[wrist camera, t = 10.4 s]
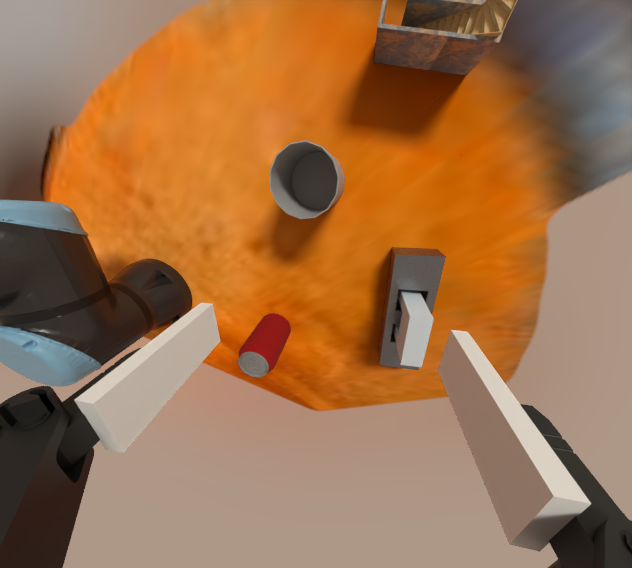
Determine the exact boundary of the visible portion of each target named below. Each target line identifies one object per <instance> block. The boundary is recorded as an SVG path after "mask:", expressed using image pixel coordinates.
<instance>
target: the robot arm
mask: <svg viewBox="0 0 632 568" xmlns="http://www.w3.org/2000/svg"><path fill="white" fill-rule="evenodd" d="M87 236H88V234H87V233H86V232H85V231H84V229H83V228H82V226H81V224H80V222H79V220H78V218H77V216H76V214H75V213H74V212H73V210H71V209H70V208H69V207H67V206H65V205H63V204H60V203H55V202H41V201H16V200H0V361H1V362H2V363H3V364H5V365H6V366H8V367H9V368H11V369H12V370H14V371H16V372H17V373H19V374H21V375H23V376H25V377H27V378H29V379H31V380H34V381H36V382H39V383H42V384H45V385H51V386H67V385H71V384H74V383H76V382H78V381H79V380H81V379H83V378H84V377H86V376H87V375H89V374H91V373H92V372H94V371H95V370H98V369H100V368H101V366H102V365H104V364H105V363H107V362H108V361H109V360H110V359H112V358H113V357H115V356H116V355H118V354H119V353H120V352H122V351H123V350H125V349H126V348H127V347H129V346H130V345H132V344H133V343H134V342H136V341H137V340H138V339H140V338H141V337H143V336H144V335H145V334H147V333H148V332H150V331H152V330H155V329H158V328H161V327H164V326H167V325H170V324H172V325H171V326H170V327H168V328H167V329H166V330H165V331H163V332H162V333H161V334H159V335H158V336H157V337H155V338H154V339H153V340H152V341H150V342H149V343H148V344H146V345H145V346H144V347H142V348H139V349H137V350H135V351H133V352H131V353H129V354H127V355H125V356H124V357H123V358H121V359H120V360H119V361H118V362H116V363H115V364H114V365H112V366H111V367H109V368H108V369H107V370H105V372H104V373H101V374H100V375H99V376H97V377H96V378H94V379H93V380H92V381H90V382H89V383H88V384H86V385H85V386H84V387H82V388H81V389H80V390H79V391H77V392H76V393H74V394H73V395H72V396H70V397H69V398H68V399H66V400H65V401H63V402H61V400H60V399H59V397H58V396H57V395H56V393H55V392H54V390H53V389H52V388H51V387H49V386H41V387H35V388H31V389H29V390H26V391H23V392H21V393H19V394H17V395H15V396H13V397H11V398H9V399H7V400H6V401H4V402H3V403H1V404H0V568H62V567H63V564H64V560H65V557H66V553H67V550H68V546H69V542H70V539H71V535H72V532H73V528H74V525H75V521H76V517H77V514H78V510H79V507H80V503H81V500H82V496H83V492H84V489H85V485H86V482H87V478H88V474H89V471H90V467H91V464H92V460H93V456H94V449H93V446H94V445H95V444H96V443H97V442H98V441H99V440H100V441H101V443H102V444H103V446H104V447H105V449H106V450H110V451H115V452H119V453H124V452H125V450H126V449H127V448H128V447H129V446H130V444H131V443H132V442H133V441H134V440H135V439H136V438H137V437H138V435H139V434H140V433H141V432H142V431H143V430H144V428H145V427H146V426H147V425H148V424H149V423H150V422H151V420H152V419H153V418H154V417H155V416H156V415H157V413H158V412H159V411H160V410H161V409H162V408H163V407H164V405H165V404H166V403H167V402H168V401H169V399H170V398H171V397H172V396H173V395H174V394H175V393H176V392H177V390H178V389H179V388H180V387H181V386H182V385H183V384H184V382H185V381H186V380H187V379H188V378H189V377H190V375H191V374H192V373H193V372H194V371H195V370H196V369H197V367H198V366H199V365H200V364H201V363H202V362H203V360H204V359H205V358H206V357H207V356H208V355H209V354H210V352H211V351H212V350H213V349H214V348H215V347H216V345H217V344H218V343H219V342H220V337H219V332H218V327H217V322H216V317H215V312H214V308H213V304H210V303H200V304H198V305H197V306H196V307H195V308H193V309H192V310H191V311H190V309H191V305H192V297H191V293H190V290H189V287H188V285H187V284H186V282H185V280H184V279H183V278H182V276H181V275H180V274H179V273H178V272H177V271H176V270H175V269H173V268H172V267H171V266H169V265H167V264H166V263H164V262H161V261H159V260H155V259H143V260H140V261H137V262H135V263H132V264H130V265H129V266H127V267H126V268H125V269H124V270H123V271H121V272H120V273H119V274H118V275H117V276H116V277H114V278H113V279H112V280H111V281H110V282H109V283H108V282H107V280H106V277H105V275H104V273H103V271H102V269H101V266H100V264H99V262H98V260H97V257H96V255H95V253H94V250H93V248H92V246H91V244H90V241H89V239H88V237H87ZM173 323H174V324H173ZM438 373H439V375H440V377H441V380H442V382H443V385H444V387H445V390H446V392H447V394H448V397H449V399H450V402H451V404H452V406H453V409H454V411H455V414H456V416H457V418H458V421H459V423H460V426H461V428H462V430H463V433H464V435H465V438H466V440H467V442H468V445H469V447H470V450H471V452H472V455H473V457H474V459H475V462H476V464H477V467H478V469H479V471H480V474H481V476H482V479H483V481H484V484H485V486H486V488H487V491H488V493H489V496H490V498H491V500H492V503H493V505H494V508H495V510H496V513H497V515H498V517H499V520H500V522H501V525H502V527H503V529H504V532H505V534H506V537H507V539H508V541H509V544H511V545H515V546H519V547H523V548H528V549H532V550H537V551H540V550H542V549H543V548H544V547H545V546H546V545H547V544H548V543H549V542H550V544H551V546H552V548H553V550H554V552H555V553H556V555H557V557H558V560H557V561H556V562H554V563H553V564H552V565H551V566H549V567H548V568H632V521H630V520H629V519H628V518H627V517H626V516H625V515H624V514H623V513H622V511H621V510H620V509H619V508H618V507H617V505H616V504H615V503H614V501H613V500H612V499H611V498H610V496H609V495H608V494H607V493H606V491H605V490H604V489H603V488H602V486H601V485H600V484H599V483H598V481H597V480H596V479H595V478H594V476H593V475H592V474H591V473H590V471H589V470H588V469H587V467H586V466H585V465H584V464H583V462H582V461H581V460H580V459H579V457H578V456H577V455H576V454H574V453H573V450H572V449H571V447H570V446H569V445H568V443H567V442H566V441H565V440H563V439H562V436H561V435H560V433H559V432H558V431H557V430H556V428H555V427H554V426H553V425H552V423H551V422H550V421H549V420H548V419H547V418H546V417H545V416H543V415H542V414H541V413H540V412H539V411H537V410H536V409H535V408H534V407H533V406H529V405H522V404H519V402H518V401H517V400H516V398H515V397H514V395H513V394H512V393H511V391H510V390H509V389H508V387H507V386H506V384H505V383H504V382H503V380H502V379H501V377H500V376H499V375H498V373H497V372H496V370H495V369H494V368H493V366H492V365H491V364H490V362H489V361H488V359H487V358H486V357H485V355H484V354H483V352H482V351H481V350H480V348H479V347H478V345H477V344H476V343H475V341H474V340H473V339H472V337H471V336H470V334H469V333H468V332H466V331H457V330H451V331H450V334H449V338H448V341H447V344H446V347H445V350H444V353H443V356H442V359H441V362H440V365H439V368H438Z"/></svg>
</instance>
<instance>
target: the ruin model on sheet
mask: <svg viewBox="0 0 632 568" xmlns="http://www.w3.org/2000/svg"><path fill="white" fill-rule="evenodd" d="M516 3H517V0H408V1H407V5H406V9H405V13H404V17H403V21H402V25H401V26H398V25H390V24H384V20H385V12H386V5H387V0H383V3H382V8H381V13H380V18H379V22H378V27H377V37H376V47H375V57H374V63H380V64H388V65H395V66H402V67H409V68H416V69H423V70H430V71H438V72H445V73H452V74H459V75H467V74H468V73H469V72H470V71H471V70H472V69H473V68H474V67H475V66H476V65H477V64H478V63H479V62H480V61H481V60H482V59H483V58H484V57H485V56H486V55H487V54H488V53H489V52H490V51H491V50H492V49H493V48H494V47H495V46H496V45H497V44H498V43H499V41H500V39H501V36H502V34H503V31H504V28H505V26H506V24H507V21H508V19H509V17H510V15H511V13H512V11H513V9H514V7H515V5H516Z"/></svg>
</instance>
